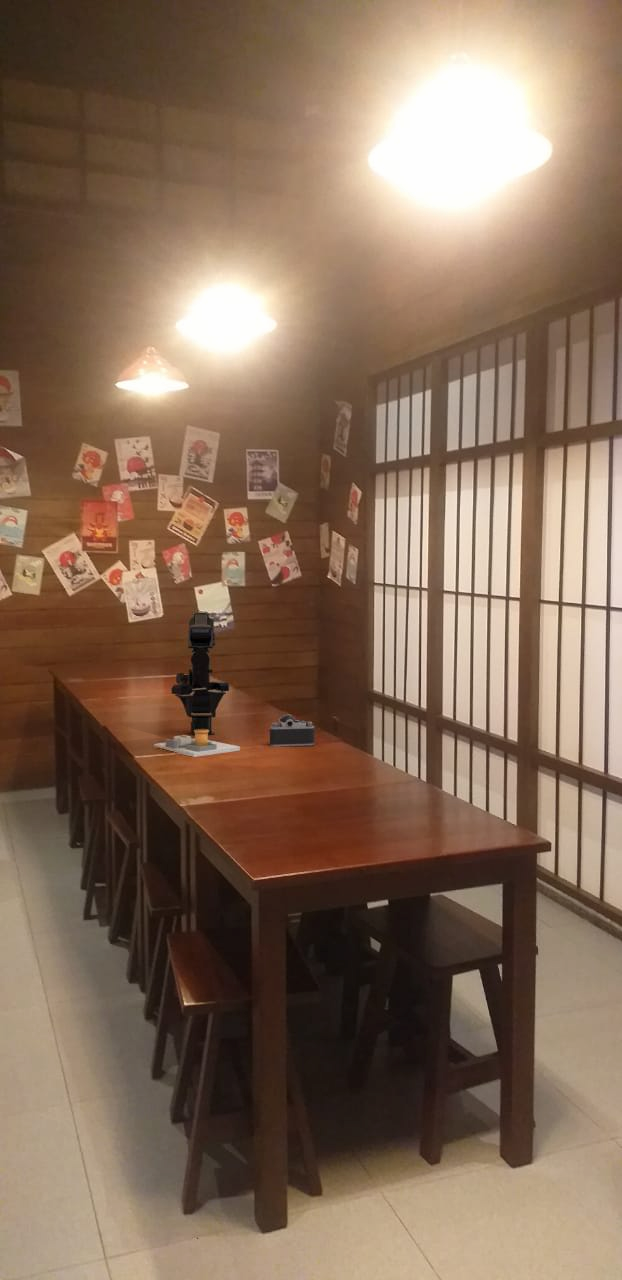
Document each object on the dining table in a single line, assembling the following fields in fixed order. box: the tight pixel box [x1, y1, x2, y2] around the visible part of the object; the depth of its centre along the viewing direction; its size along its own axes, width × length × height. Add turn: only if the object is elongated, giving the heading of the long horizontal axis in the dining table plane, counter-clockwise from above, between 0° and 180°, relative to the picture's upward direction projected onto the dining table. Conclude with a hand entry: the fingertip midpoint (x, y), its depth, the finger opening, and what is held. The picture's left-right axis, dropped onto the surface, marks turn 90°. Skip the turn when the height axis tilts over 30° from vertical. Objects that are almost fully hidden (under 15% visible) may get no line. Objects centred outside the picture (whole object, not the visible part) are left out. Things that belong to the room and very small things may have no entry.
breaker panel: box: [153, 738, 241, 758], centre depth 316 cm, size 18×22×4 cm
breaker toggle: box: [173, 734, 192, 747], centre depth 315 cm, size 4×4×3 cm
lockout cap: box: [194, 729, 209, 747], centre depth 309 cm, size 5×5×6 cm
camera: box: [268, 714, 315, 747], centre depth 328 cm, size 16×8×10 cm, turn 101°
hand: (200, 715), depth 309 cm, fingers open, 9 cm apart
